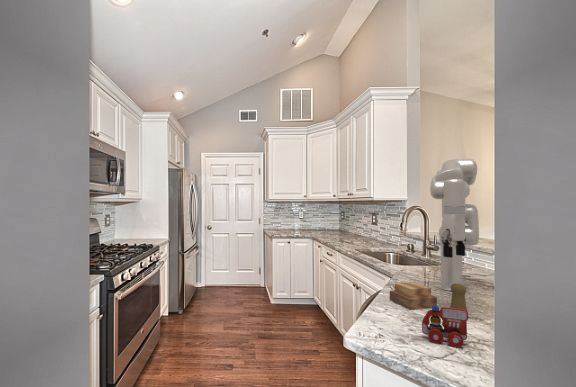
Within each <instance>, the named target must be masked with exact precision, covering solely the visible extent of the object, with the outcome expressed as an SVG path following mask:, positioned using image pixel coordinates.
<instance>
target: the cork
mask: <svg viewBox="0 0 576 387" xmlns="http://www.w3.org/2000/svg"><path fill="white" fill-rule="evenodd" d="M450 292H452V293H451V298H450V299H451V300H450V306H449V307H450V308H459V309H465V310H467V311H468V309H467V302H466V295H465V294H466V292H467V287H466V286H465V285H461V284H452V285H451V291H450Z"/></svg>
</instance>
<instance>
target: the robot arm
mask: <svg viewBox="0 0 576 387" xmlns="http://www.w3.org/2000/svg"><path fill="white" fill-rule="evenodd" d="M477 174H478V165H477V162H476V161H475V160H474V159H472V158H460V159H459V158H455V159H454V158H453V159H448V160H445V161H444V162H443V163H442V166H441V169H440V170H437V171H436V174H434V176H432V179H431V180H430V187H429V188H430V189H429V192H430V195H431V197H432V198H433V199H435V200H441V218H442V220H441V226H440V228H439V229H438V236H439V245H440V283H438V284H437V286H436V287H437V288H438V289H440V290H442V291H443V290H444V291H446V292H452V291H451V285H452V284H461V285H464V286H465V285H466V286H467V285H470V283H471V282H470V280H463V257H465V256H466V246H476V245H478V244H479V241H480V228H479V227H480V226H479V225H480V224H479V210H478V208H477V206H475V205H474V204H472V203H471V204H469V203H466V198H467V197H468V196H469V195H470V192H471V190H470V186H472V185H473V184H475V181H476V178H477Z"/></svg>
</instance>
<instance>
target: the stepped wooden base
mask: <svg viewBox="0 0 576 387" xmlns="http://www.w3.org/2000/svg"><path fill="white" fill-rule="evenodd" d="M389 301H390V302H392V303H395V304H396V305H399V306H400V307H402V308H405V309H407V310H409V311H412V310H423V309H432V306H433V305H437V306H438V297H436V296H434V295H432V288H431V287H430V286H426V285H424V284H421V283H418V282H416V281H411V282H408V281H407V282H394V290H389Z"/></svg>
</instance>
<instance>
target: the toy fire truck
mask: <svg viewBox="0 0 576 387" xmlns="http://www.w3.org/2000/svg"><path fill="white" fill-rule="evenodd" d="M468 320H469V312H468V309H467V310H465V309H459V308H450V306H449V307H448V306H442V307H439V306H438V304H437V305H433V306H432V308H431V309H427V311H426V313H425V315H424V317H423V319H422V321H421V332H422V334H424V335H427V336H428V338H429V340H430V342H432V343H433V344H435V345H436V344H437V345H438V344H439V345H440V344H441V343H443V341H444V338H447V341H448V344H449V345H450V346H451V347H453V348H461V347H462V346H463V345H464V341H466V340H467V339H468V331H467V330H468V328H467V326H468V325H467V322H468Z"/></svg>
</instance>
